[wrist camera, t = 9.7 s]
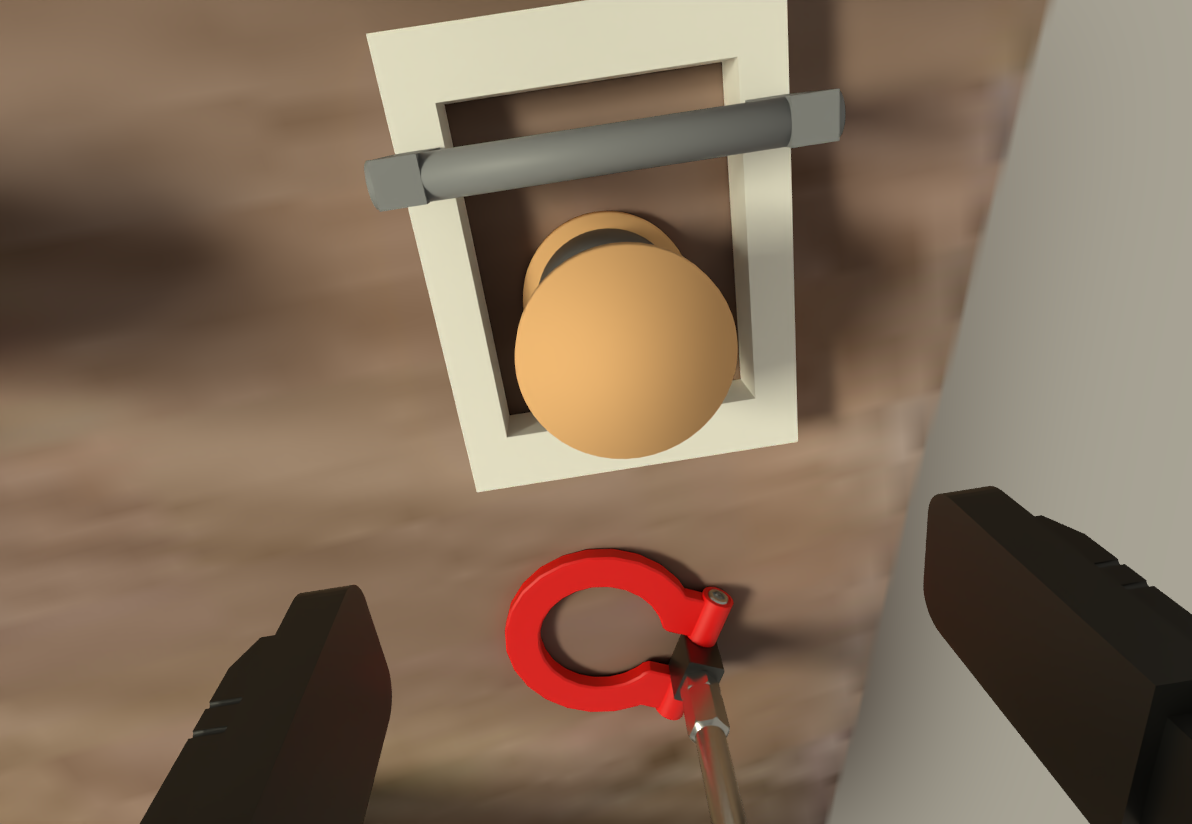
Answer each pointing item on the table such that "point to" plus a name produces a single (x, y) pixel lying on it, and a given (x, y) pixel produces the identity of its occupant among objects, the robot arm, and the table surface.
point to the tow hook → (651, 683)
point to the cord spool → (621, 338)
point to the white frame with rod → (586, 54)
